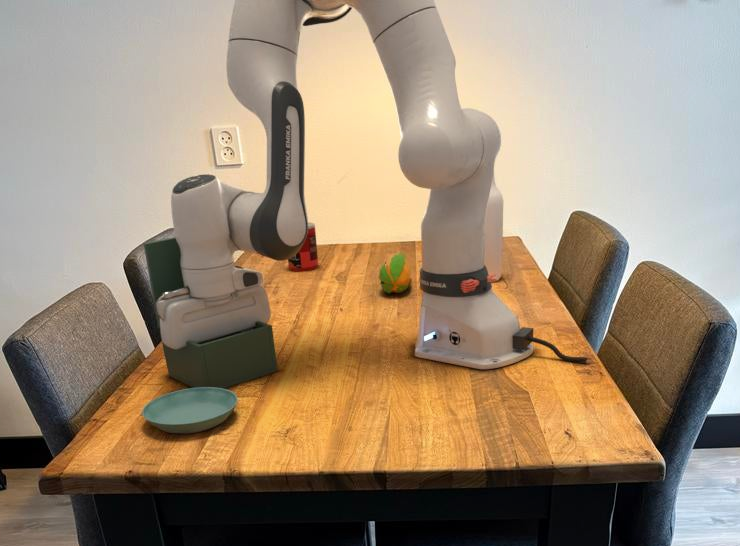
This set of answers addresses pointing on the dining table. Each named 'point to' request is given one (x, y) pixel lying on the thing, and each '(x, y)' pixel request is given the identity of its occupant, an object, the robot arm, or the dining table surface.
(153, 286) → the lid
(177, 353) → the bread bin
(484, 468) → the dining table surface
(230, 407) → the saucer
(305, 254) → the canned food
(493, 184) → the alcohol
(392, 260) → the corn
